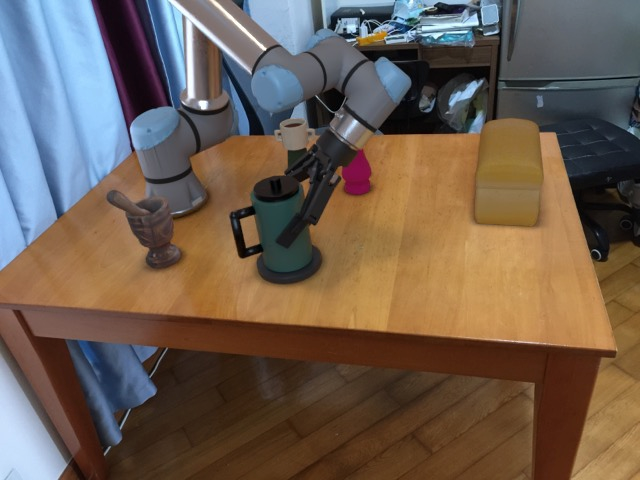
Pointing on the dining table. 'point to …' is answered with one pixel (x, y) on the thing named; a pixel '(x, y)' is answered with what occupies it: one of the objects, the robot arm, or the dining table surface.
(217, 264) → the dining table surface
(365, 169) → the pepper mill
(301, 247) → the kettle
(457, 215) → the dining table surface
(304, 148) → the character mug
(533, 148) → the bread
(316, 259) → the kettle base
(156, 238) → the mortar and pestle
